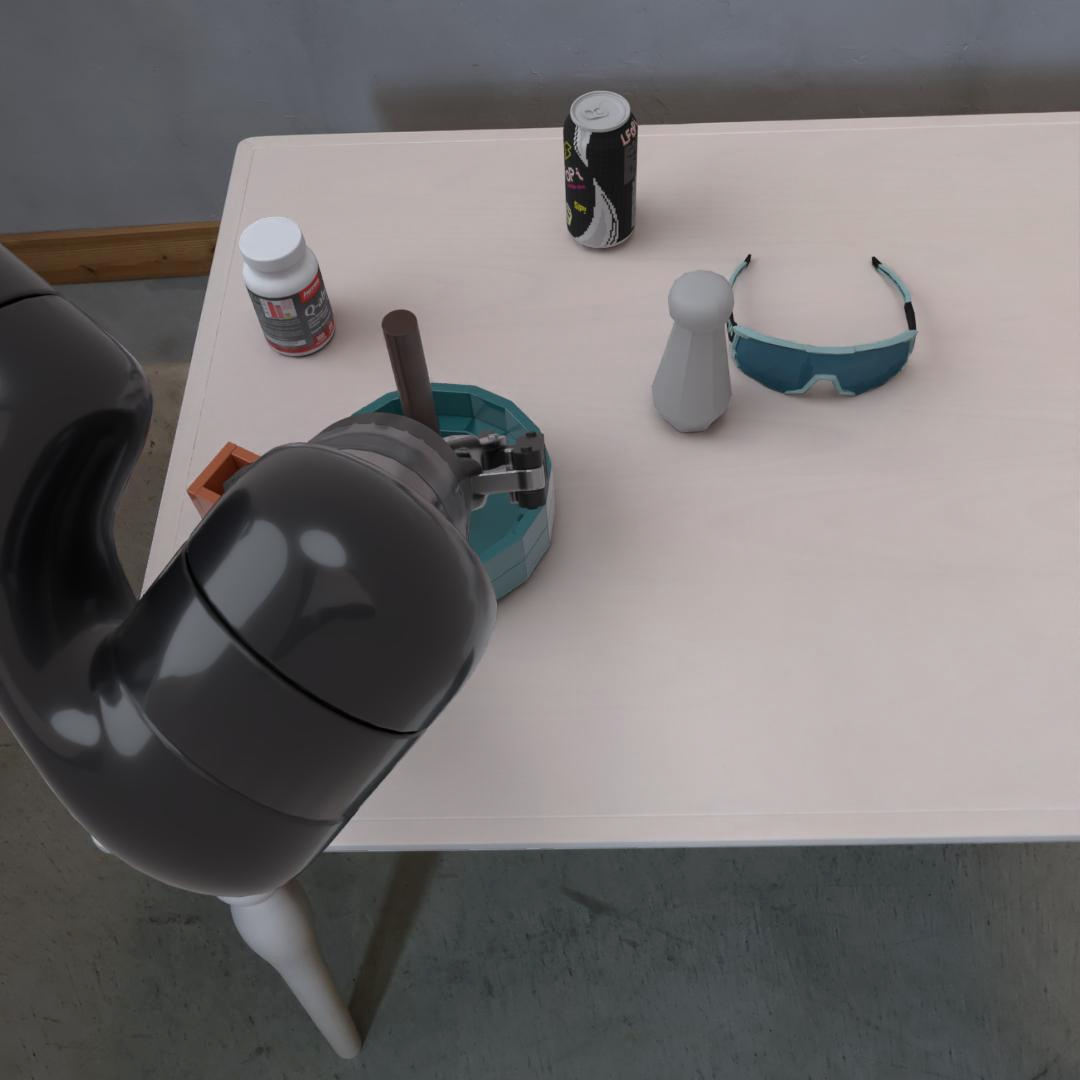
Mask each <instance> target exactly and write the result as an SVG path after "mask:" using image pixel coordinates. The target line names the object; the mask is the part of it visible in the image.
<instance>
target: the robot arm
mask: <svg viewBox="0 0 1080 1080" xmlns="http://www.w3.org/2000/svg"><path fill="white" fill-rule="evenodd" d="M154 407H155V396H154V388H153V385H152V382H151V380H150V378H149V376H148V374H147V372H146V371H145V368H144V367H143V366H142V365H141V364H140V362H139V361H138V360H137V358H136V357H135V356H134V355H133V354H132V353H131V352H130V351H129V350H128V349H127V348H126V347H125V346H124V345H123V343H121V342H120V341H119V340H118V339H117V338H115V337H114V336H113V335H112V334H111V333H110V332H108V331H107V330H106V328H104V327H103V326H102V325H101V324H100V323H98V322H97V321H96V320H94V319H93V318H92V317H91V316H90V315H88V314H87V313H86V312H85V311H83V309H81V308H80V307H79V306H77V305H76V304H75V303H74V302H72V300H70V299H69V298H67V296H65V295H64V294H63V293H62V292H61V291H59V290H58V289H57V288H56V287H54V286H53V285H52V284H51V283H50V282H48V281H47V280H46V279H45V278H44V277H42V276H41V275H40V274H39V273H38V272H36V270H34V269H33V268H31V266H29V265H28V264H27V263H26V262H24V261H23V260H22V259H20V258H19V257H18V256H17V255H16V254H14V253H13V252H12V251H11V250H10V249H8V247H6V246H5V245H4V244H2V242H0V717H1V719H2V720H3V721H4V723H5V724H6V726H7V727H8V728H9V730H10V732H11V733H12V734H13V737H15V739H16V741H17V743H18V744H19V745H20V747H21V748H22V749H23V751H24V752H25V754H26V756H27V757H28V759H29V760H30V761H31V762H32V764H33V765H34V768H36V770H37V772H38V773H39V774H40V775H41V776H40V777H42V779H43V781H45V783H46V784H47V786H48V787H49V789H50V790H51V791H52V793H53V794H54V795H55V796H56V798H57V799H58V800H59V802H61V804H62V805H63V806H64V808H65V809H66V810H67V811H68V813H69V814H70V815H71V816H72V817H73V818H74V819H75V821H76V822H77V823H79V824H80V826H81V827H82V828H83V829H85V830H86V832H88V833H89V834H90V836H92V837H93V838H94V839H95V840H96V841H97V842H98V843H99V844H100V845H101V846H102V847H103V848H104V849H106V850H107V851H108V852H109V853H111V854H112V855H114V856H115V857H116V858H118V859H119V860H120V861H122V862H123V863H125V864H126V865H128V866H130V867H131V868H133V869H134V870H136V871H138V872H140V873H141V874H143V875H145V876H148V877H150V878H152V879H154V880H157V881H159V882H161V883H163V884H166V885H168V886H170V887H173V888H175V889H179V890H183V891H187V892H191V893H195V894H199V895H203V896H209V897H221V898H245V897H251V896H258V895H264V894H267V893H270V892H273V891H275V890H278V889H280V888H281V887H284V886H286V885H288V884H289V883H291V882H293V881H294V880H295V879H296V878H297V877H299V875H301V874H302V873H303V872H304V871H305V870H307V869H308V868H309V867H310V866H311V865H312V864H313V863H315V862H316V861H317V860H318V859H319V857H320V856H321V855H322V854H323V853H324V852H325V851H326V849H327V848H328V847H329V846H330V845H331V844H332V843H333V841H335V839H336V838H337V837H338V835H339V834H340V833H341V832H342V831H343V830H344V829H345V827H346V826H347V825H348V823H349V822H350V821H351V820H352V819H353V818H354V817H355V815H356V814H357V813H358V812H359V810H360V809H361V807H362V806H363V805H364V804H365V803H366V802H367V801H368V800H369V798H370V797H371V796H372V795H373V793H374V792H375V791H376V790H377V789H378V787H380V785H381V784H382V783H383V782H384V781H385V780H386V779H387V777H388V776H389V775H390V774H391V773H392V772H393V770H394V769H395V768H396V767H397V765H398V764H399V763H400V762H401V761H402V760H403V758H404V757H405V756H406V755H407V754H408V753H409V752H410V750H411V749H412V748H413V747H414V746H415V745H416V743H418V741H419V740H420V739H421V738H422V737H423V736H424V734H425V733H426V732H427V731H428V730H429V728H430V727H431V726H432V725H433V724H434V723H435V722H436V720H438V718H440V717H441V715H442V714H443V713H444V712H445V710H446V709H447V708H448V706H449V705H450V704H451V703H452V702H453V701H454V699H456V697H457V696H458V695H459V693H460V692H461V691H462V690H463V688H464V687H465V686H466V684H467V683H468V681H469V680H470V678H471V677H472V676H473V674H474V673H475V671H476V670H477V668H478V666H479V664H480V663H481V661H482V659H483V657H484V655H485V653H486V651H487V648H488V646H489V643H490V641H491V638H492V635H493V633H494V630H495V626H496V622H497V615H498V600H497V601H496V596H495V593H494V589H493V586H492V583H491V580H490V577H489V575H488V573H487V571H486V569H485V567H484V565H483V564H482V562H481V560H480V558H479V556H478V555H477V553H476V552H475V551H474V549H473V548H472V546H471V545H470V544H469V539H470V530H469V522H470V516H471V511H474V510H477V509H480V508H482V507H483V506H484V505H485V503H486V500H487V496H488V495H489V494H496V493H506V492H509V500H510V503H518V504H519V507H520V508H527V509H528V510H534V509H538V508H539V507H540V506H544V505H546V503H547V496H548V489H549V478H548V468H547V459H546V449H545V445H546V441H545V440H546V439H545V434H544V433H542V432H541V433H536V431H532V432H526V435H521V436H519V437H518V439H517V442H516V444H515V445H508V440H507V438H506V436H498V434H493V430H487V431H479V436H478V437H477V436H476V435H452V436H448V437H444V438H442V437H440V436H439V435H438V434H437V433H436V432H434V431H433V430H432V429H430V428H429V427H427V426H425V425H424V424H422V423H420V422H418V421H416V420H413V419H411V418H408V417H405V416H401V415H398V414H392V413H383V412H372V413H363V414H357V415H353V416H351V415H350V416H347V417H345V418H342V419H339V420H337V421H335V422H333V423H331V424H330V425H328V426H327V427H325V428H324V429H323V430H321V431H320V432H318V433H317V434H316V435H315V436H314V437H312V438H311V439H309V440H308V441H306V442H303V441H297V442H296V441H295V442H289V443H284V444H281V445H277V446H275V447H273V448H271V449H269V450H268V451H266V452H265V453H263V454H262V455H260V456H261V457H260V458H258V459H257V460H256V461H255V462H251V463H249V465H247V466H243V467H242V468H241V469H239V470H238V471H237V472H236V473H235V474H234V475H233V476H231V477H230V478H229V479H228V480H227V481H226V482H225V483H223V487H224V493H223V494H222V495H221V497H220V498H219V499H218V500H217V501H216V503H215V504H214V505H213V506H212V507H211V509H210V510H209V511H208V513H207V514H206V515H205V516H204V518H203V519H202V518H201V520H200V521H199V523H198V524H197V525H196V526H195V528H194V529H193V530H192V531H191V533H190V534H189V537H188V538H187V539H186V540H185V541H184V542H183V543H182V544H181V546H180V547H179V548H178V549H177V551H175V553H174V555H173V556H172V557H171V558H170V560H169V561H168V562H167V564H166V565H165V566H164V568H163V569H162V570H161V572H159V574H158V575H157V576H156V578H155V579H154V580H153V582H151V584H150V586H149V587H148V588H147V590H146V591H145V592H144V593H143V595H142V596H141V597H140V599H139V598H138V596H137V594H136V593H135V590H134V588H133V586H132V584H131V582H130V580H129V577H128V575H127V573H126V570H125V568H124V565H123V563H122V561H121V558H120V555H119V552H118V548H117V544H116V529H117V523H118V518H119V514H120V510H121V507H122V504H123V500H124V498H125V495H126V492H127V490H128V488H129V484H130V482H131V480H132V477H133V475H134V472H135V470H136V467H137V465H138V463H139V460H140V458H141V456H142V452H143V451H144V448H145V445H146V443H147V440H148V436H149V433H150V431H151V428H152V424H153V418H154V409H155V408H154Z"/></svg>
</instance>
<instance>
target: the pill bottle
mask: <svg viewBox="0 0 1080 1080" xmlns="http://www.w3.org/2000/svg"><path fill="white" fill-rule="evenodd" d="M238 247H239V251H240V253H241V256H242V258H243V265H242V271H241V272H242V279H243V282H244V285H245V288H246V291H247V293H248V296H249V299H250V301H251V304H252V307H253V309H254V312H255V314H256V318H257V320H258V323H259V325H260V328H261V331H262V333H263V336H264V339H265V341H266V342H267V344H268V345H269V347H270V348H271V349H272V350H274V351H275V352H277V353H279V354H281V355H285V356H289V357H302V356H307V355H311V354H313V353H316V352H317V351H319V350H320V349H322V348H324V346H326V345H327V343H329V341H330V340H331V339H332V337H333V335H334V333H335V327H336V321H335V316H334V313H333V309H332V305H331V302H330V297H329V295H328V291H327V288H326V285H325V281H324V279H323V278H324V277H323V274H322V272H321V268H320V265H319V261H318V259H317V256H316V254H315V252H314V251H313V249H312V248H311V247H309V245H307V242H306V238H305V236H304V233H303V231H302V228H301V226H300V225H299V224H298V223H297V222H296V221H295V220H293V219H292V218H289V217H285V216H278V215H277V216H275V215H274V216H267V217H263V218H260V219H258V220H256V221H254V222H251V224H249V225H248V226H247V227H246V228H245V229H244V230H243V231H242V233H241V235H240V236H239V241H238Z"/></svg>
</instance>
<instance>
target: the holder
mask: <svg viewBox="0 0 1080 1080" xmlns="http://www.w3.org/2000/svg"><path fill="white" fill-rule="evenodd" d="M261 456H262V455H259V454H256V453H254V452H252V451H250V450H248V449H246V448H244V447H242V446H240V445H238V444H235V443H234V442H231V441H228V442H227V443H226V444H225V445H224V446H223V447H222V448H221V449H220V450H219V452H218V453H217V454H216V455H215V457H213V459H212V460H211V461H210V462H209V463H208V464H207V465H206V467H205V468H204V469H203V470H202V471H201V472H200V474H198V476H197V477H196V479H194V480H193V482H192V483H191V484H190V485H189V486H188V488H186V491H185V492H186V493H187V495H188V497H189V498H190V501H192V503H193V506H194V507H195V509H196V511H197V513H198V515H199V516H200V518H201V520H202V519H203V518H204V516H205V515H206V514H207V513H208V511H209V510H210V509H211V507H212V506H213V505H214V504H215V503H216V501H217V500H218V499H219V498H220V497H221V495H222V494H223V493H224V487H223V483H225V482H226V481H227V480H228V479H229V478H230V477H231V476H233V475H234V474H235V473H236V472H237V471H238V470H239V469H241V468H242V467H243V466H247V465H249V463H251V462H255V461H256V460H257V459H258V458H260V457H261Z"/></svg>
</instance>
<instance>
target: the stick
mask: <svg viewBox="0 0 1080 1080" xmlns="http://www.w3.org/2000/svg"><path fill="white" fill-rule="evenodd" d="M381 330H382V333H383V337H384V342H385V347H386V350H387V354H388V358H389V362H390V365H391V370H392V374H393V378H394V382H395V386H396V391H397V390H398V394H399V398H400V402H401V406H402V410H403V415H404V416H405V417H408V418H411V419H413V420H416V421H418V422H420V423H422V424H424V425H425V426H427V427H429V428H430V429H432V430H433V431H434V432H436V433H437V434H438V435H439V436H440V437H441V432H440V427H439V423H438V418H437V413H436V408H435V403H434V399H433V394H432V389H431V384H430V383H431V380H430V379H431V378H430V376H429V370H428V365H427V360H426V356H425V351H424V346H423V341H422V336H421V331H420V327H419V322H418V317H417V316H416V314H415V313H413V312H412V311H411V310H408V309H401V308H400V309H394V310H391V311H389V312H388V313H386V314H385V315H384V317H383V318H382V321H381Z"/></svg>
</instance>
